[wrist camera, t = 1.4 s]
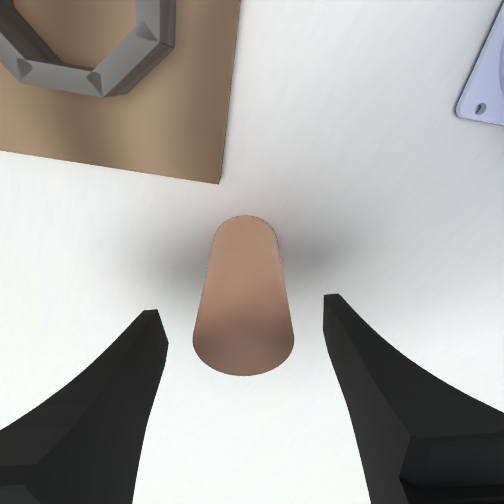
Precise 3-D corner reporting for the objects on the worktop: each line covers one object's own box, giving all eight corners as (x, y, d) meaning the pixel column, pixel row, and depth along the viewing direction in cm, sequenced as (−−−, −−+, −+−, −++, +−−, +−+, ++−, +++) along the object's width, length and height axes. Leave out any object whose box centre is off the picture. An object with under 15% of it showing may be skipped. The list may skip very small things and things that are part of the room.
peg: (283, 220, 18) (305, 309, 11) (270, 275, 20) (282, 380, 13) (216, 211, 18) (196, 296, 11) (210, 267, 20) (189, 371, 13)
